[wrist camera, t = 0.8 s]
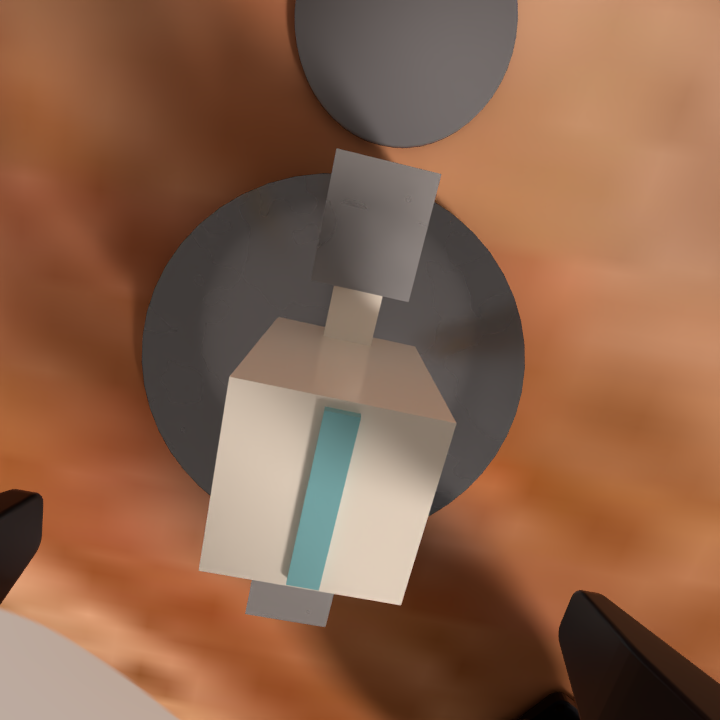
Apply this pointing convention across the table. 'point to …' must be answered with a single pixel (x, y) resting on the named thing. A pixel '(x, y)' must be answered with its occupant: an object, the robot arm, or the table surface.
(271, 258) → the lugged metal disc
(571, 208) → the table surface
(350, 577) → the cream block with tab
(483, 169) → the table surface
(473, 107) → the rubber pad
